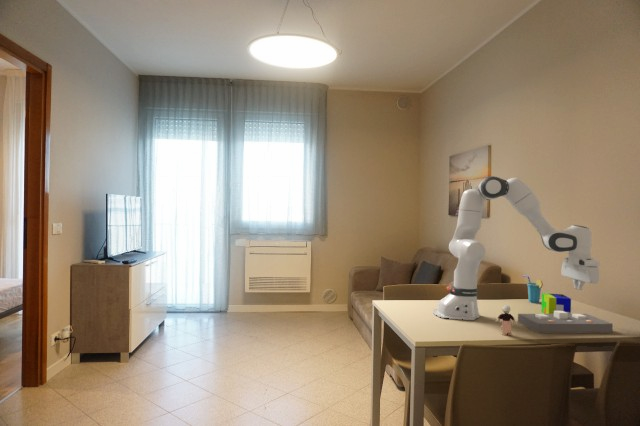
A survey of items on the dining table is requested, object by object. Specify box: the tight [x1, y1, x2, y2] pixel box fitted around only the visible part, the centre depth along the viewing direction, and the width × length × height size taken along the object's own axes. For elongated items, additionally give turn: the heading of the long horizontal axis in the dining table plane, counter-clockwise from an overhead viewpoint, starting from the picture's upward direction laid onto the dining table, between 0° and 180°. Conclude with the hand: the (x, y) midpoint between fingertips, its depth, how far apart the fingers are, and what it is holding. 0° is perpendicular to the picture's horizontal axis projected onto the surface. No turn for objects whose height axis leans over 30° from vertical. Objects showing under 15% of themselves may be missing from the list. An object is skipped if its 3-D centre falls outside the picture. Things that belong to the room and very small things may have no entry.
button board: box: [517, 313, 614, 334], centre depth 181 cm, size 34×16×4 cm, turn 93°
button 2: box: [571, 313, 586, 319], centre depth 183 cm, size 4×4×3 cm
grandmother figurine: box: [495, 304, 517, 336], centre depth 169 cm, size 8×4×13 cm, turn 92°
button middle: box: [554, 311, 568, 319], centre depth 183 cm, size 4×4×3 cm
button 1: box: [534, 313, 549, 319], centre depth 182 cm, size 4×4×3 cm
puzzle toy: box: [541, 292, 572, 314], centre depth 201 cm, size 10×10×10 cm
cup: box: [522, 274, 544, 304], centre depth 229 cm, size 14×8×15 cm, turn 24°
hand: (578, 289), depth 183 cm, fingers closed
